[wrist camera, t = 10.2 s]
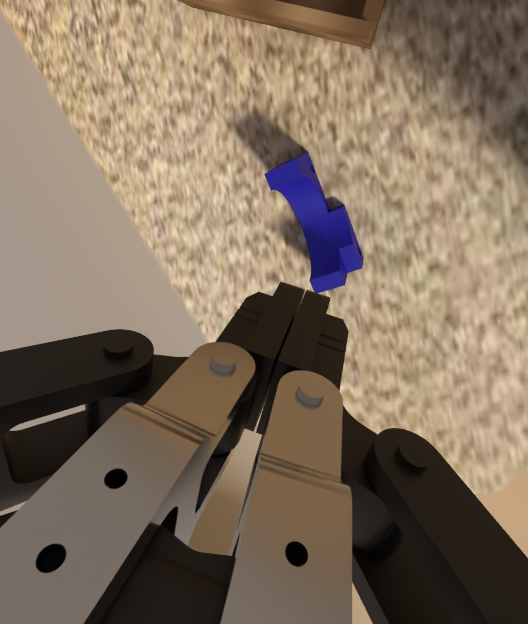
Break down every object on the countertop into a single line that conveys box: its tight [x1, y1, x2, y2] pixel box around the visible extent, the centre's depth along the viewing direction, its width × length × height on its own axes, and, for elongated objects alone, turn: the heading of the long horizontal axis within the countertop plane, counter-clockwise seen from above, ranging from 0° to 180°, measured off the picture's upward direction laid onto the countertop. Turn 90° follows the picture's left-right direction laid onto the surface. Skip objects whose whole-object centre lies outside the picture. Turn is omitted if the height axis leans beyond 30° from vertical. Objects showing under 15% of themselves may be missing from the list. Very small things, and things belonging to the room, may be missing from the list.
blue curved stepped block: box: [264, 152, 364, 293], centre depth 36 cm, size 12×4×6 cm, turn 26°
